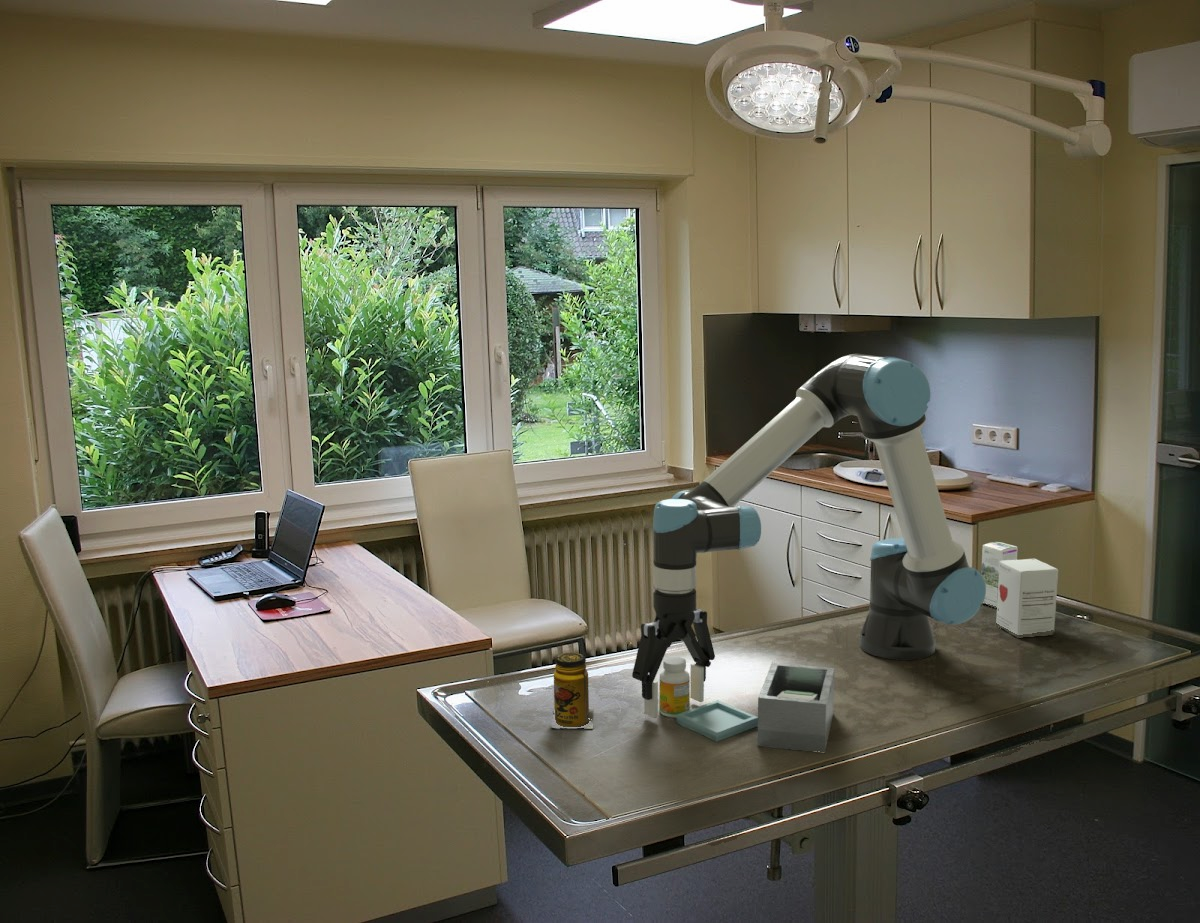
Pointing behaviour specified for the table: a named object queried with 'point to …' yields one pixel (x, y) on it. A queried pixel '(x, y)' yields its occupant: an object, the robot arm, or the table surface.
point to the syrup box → (994, 567)
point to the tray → (717, 720)
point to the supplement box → (1026, 596)
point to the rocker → (798, 695)
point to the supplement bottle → (674, 687)
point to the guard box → (796, 708)
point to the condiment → (572, 691)
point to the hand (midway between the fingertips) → (674, 707)
